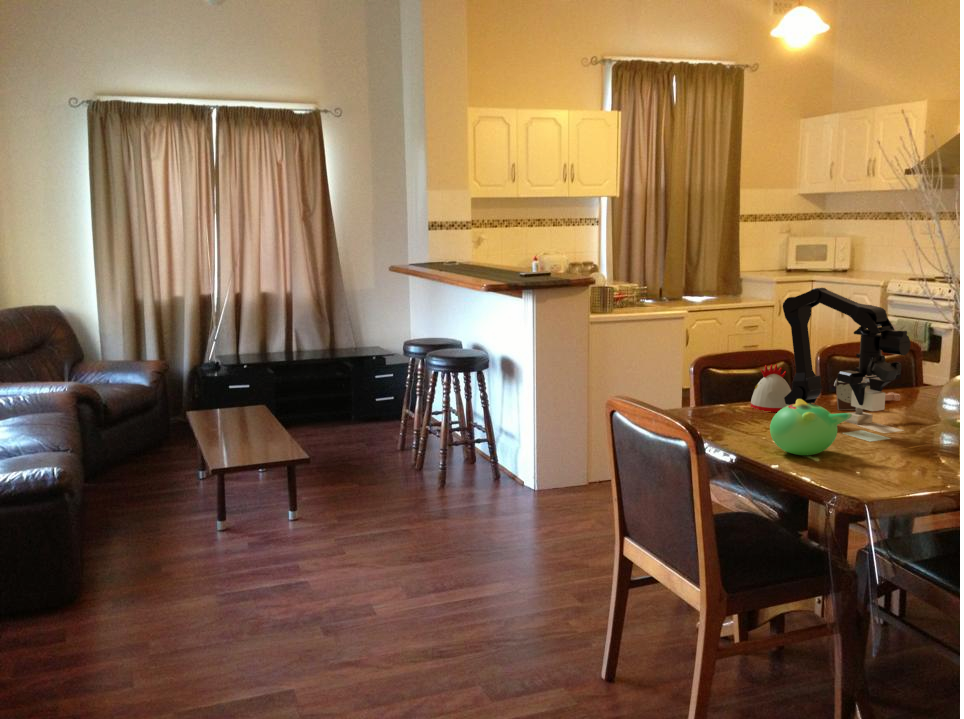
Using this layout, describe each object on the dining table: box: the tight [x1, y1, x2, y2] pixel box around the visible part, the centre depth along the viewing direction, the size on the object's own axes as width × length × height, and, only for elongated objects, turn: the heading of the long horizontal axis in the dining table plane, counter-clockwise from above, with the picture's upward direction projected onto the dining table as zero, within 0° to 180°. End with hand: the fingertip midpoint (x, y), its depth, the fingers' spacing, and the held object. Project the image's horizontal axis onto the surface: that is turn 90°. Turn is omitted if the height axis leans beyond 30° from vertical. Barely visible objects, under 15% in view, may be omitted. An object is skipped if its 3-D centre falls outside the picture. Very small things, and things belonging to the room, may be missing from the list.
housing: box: [844, 407, 905, 434], centre depth 271 cm, size 8×16×7 cm, turn 22°
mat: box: [841, 429, 892, 443], centre depth 260 cm, size 8×11×1 cm
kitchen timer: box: [750, 364, 792, 413], centre depth 299 cm, size 14×14×15 cm
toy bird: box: [769, 399, 852, 456], centre depth 242 cm, size 18×17×15 cm
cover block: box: [851, 388, 886, 412], centre depth 258 cm, size 5×8×5 cm, turn 22°
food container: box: [833, 378, 870, 411], centre depth 298 cm, size 12×6×10 cm, turn 84°
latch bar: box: [885, 392, 901, 402], centre depth 277 cm, size 4×14×2 cm, turn 104°
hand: (867, 404), depth 259 cm, fingers closed on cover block, 5 cm apart
